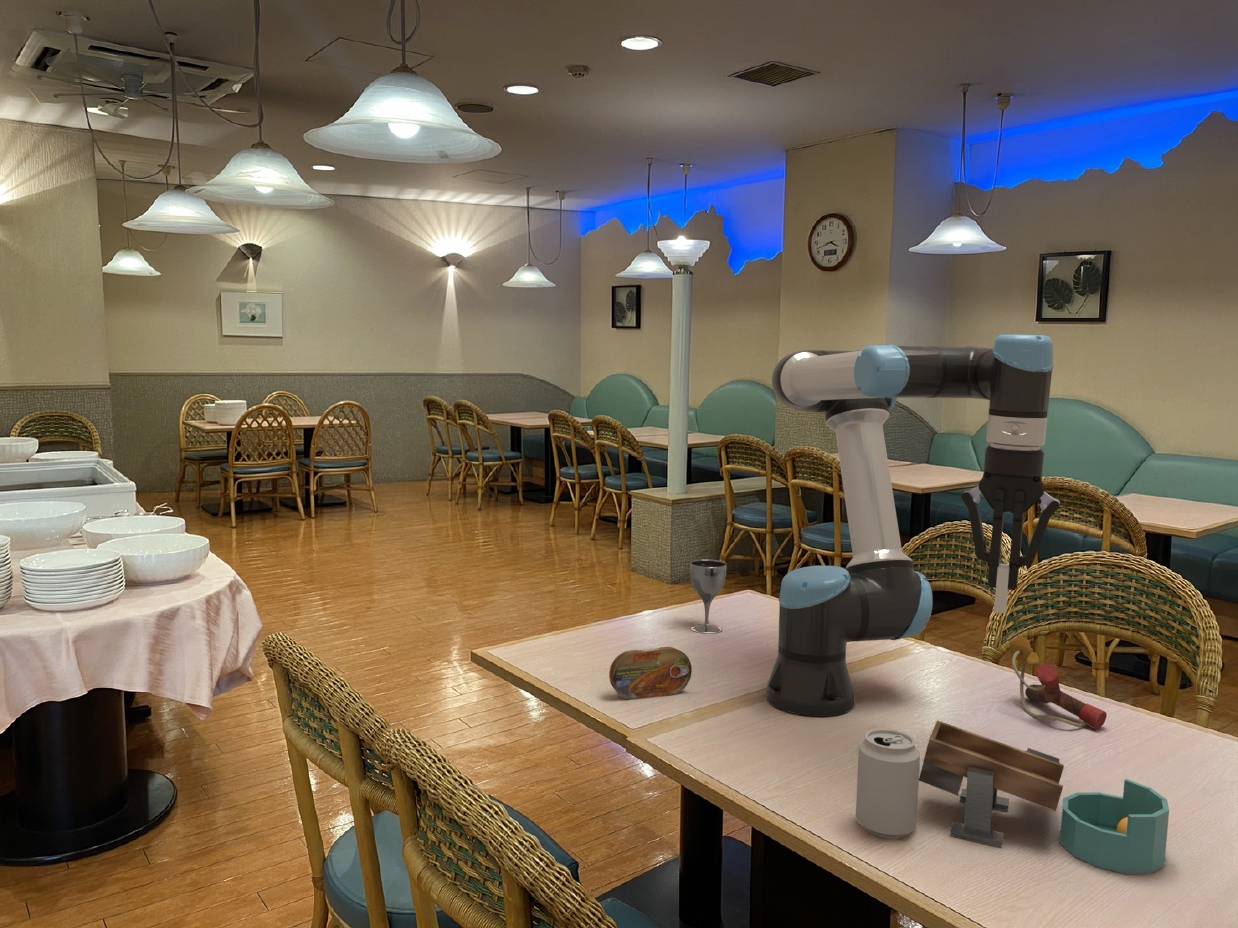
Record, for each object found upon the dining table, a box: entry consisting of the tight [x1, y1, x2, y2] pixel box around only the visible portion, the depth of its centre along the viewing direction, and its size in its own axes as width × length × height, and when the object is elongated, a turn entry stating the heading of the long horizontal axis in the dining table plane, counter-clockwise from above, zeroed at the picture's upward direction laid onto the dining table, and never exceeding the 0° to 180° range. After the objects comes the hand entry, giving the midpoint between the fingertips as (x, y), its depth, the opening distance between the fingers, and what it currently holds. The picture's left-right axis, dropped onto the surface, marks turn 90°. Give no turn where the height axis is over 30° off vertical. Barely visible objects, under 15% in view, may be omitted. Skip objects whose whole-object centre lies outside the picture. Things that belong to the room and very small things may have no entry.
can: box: [855, 728, 921, 839], centre depth 116 cm, size 8×8×12 cm
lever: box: [919, 720, 1065, 812], centre depth 121 cm, size 16×13×6 cm
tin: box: [608, 646, 693, 701], centre depth 162 cm, size 15×3×8 cm, turn 109°
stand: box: [949, 767, 1010, 849], centre depth 119 cm, size 6×13×8 cm, turn 153°
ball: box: [1116, 817, 1128, 834], centre depth 111 cm, size 4×4×4 cm
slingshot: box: [1009, 636, 1108, 731], centre depth 156 cm, size 17×10×15 cm
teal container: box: [1059, 778, 1170, 875], centre depth 112 cm, size 11×11×7 cm
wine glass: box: [689, 558, 727, 633], centre depth 202 cm, size 8×8×15 cm
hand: (1000, 610), depth 130 cm, fingers closed
